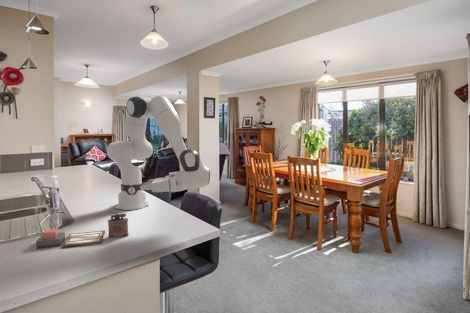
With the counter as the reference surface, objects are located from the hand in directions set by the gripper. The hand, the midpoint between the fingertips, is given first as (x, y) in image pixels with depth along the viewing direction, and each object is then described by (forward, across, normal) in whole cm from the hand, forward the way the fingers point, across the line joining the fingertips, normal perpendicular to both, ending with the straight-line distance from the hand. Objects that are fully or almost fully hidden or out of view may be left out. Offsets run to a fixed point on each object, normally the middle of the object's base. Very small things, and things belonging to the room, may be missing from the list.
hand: (141, 186), depth 122 cm
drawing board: (+25, +1, +18) cm, 31 cm away
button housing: (+37, +2, +17) cm, 41 cm away
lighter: (+13, -1, +20) cm, 24 cm away
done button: (+37, +2, +15) cm, 40 cm away
